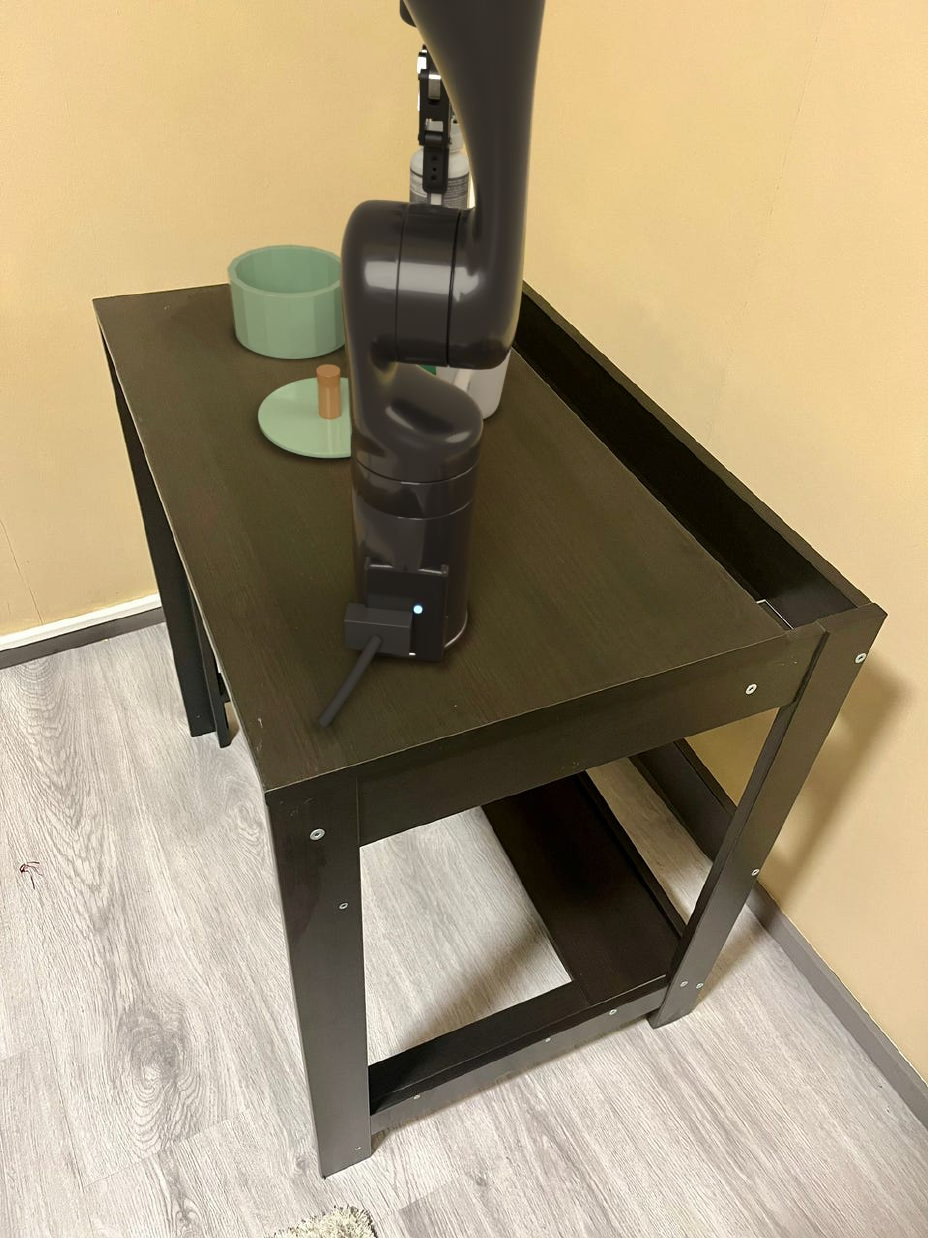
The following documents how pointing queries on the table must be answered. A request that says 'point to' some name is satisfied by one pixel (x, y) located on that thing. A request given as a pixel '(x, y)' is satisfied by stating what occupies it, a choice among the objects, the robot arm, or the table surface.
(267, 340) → the pot
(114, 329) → the table surface
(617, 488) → the table surface
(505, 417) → the table surface
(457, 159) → the pill bottle
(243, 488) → the table surface
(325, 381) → the lid
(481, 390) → the cup
